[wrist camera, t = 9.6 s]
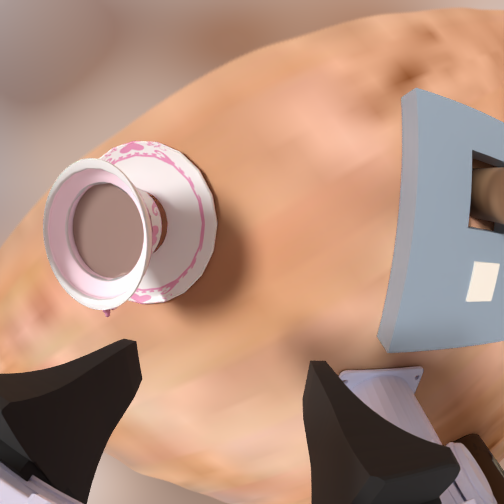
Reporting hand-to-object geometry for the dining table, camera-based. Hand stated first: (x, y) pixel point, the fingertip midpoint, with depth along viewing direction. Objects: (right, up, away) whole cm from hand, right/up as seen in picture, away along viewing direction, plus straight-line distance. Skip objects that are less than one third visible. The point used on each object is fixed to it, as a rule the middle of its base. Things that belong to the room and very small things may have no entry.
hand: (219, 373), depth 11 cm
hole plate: (+19, +7, +7) cm, 21 cm away
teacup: (-7, +7, +9) cm, 13 cm away
